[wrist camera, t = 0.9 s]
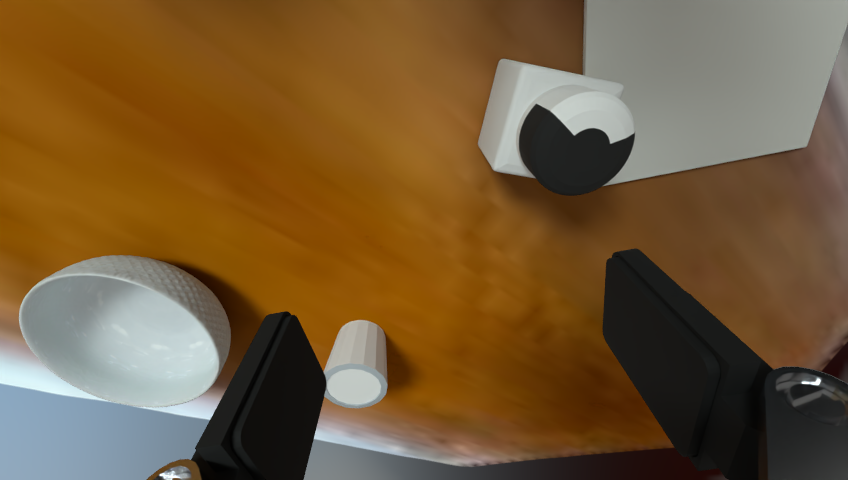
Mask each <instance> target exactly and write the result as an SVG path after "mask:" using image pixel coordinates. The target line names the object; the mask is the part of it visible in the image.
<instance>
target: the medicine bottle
mask: <svg viewBox="0 0 848 480" xmlns="http://www.w3.org/2000/svg"><path fill="white" fill-rule="evenodd" d="M623 92H624V86H623V85H622V84H621V83H616V82H612V81H607V80H603V79H598V78H594V77H589V76H584V75H580V74H575V73H570V72H566V71H561V70H556V69H551V68H546V67H542V66H537V65H532V64H527V63H522V62H518V61H513V60H508V59H501V60H500V61H499V63H498V66H497V70H496V74H495V78H494V82H493V86H492V90H491V94H490V98H489V101H488V105H487V109H486V113H485V117H484V121H483V125H482V129H481V133H480V137H479V141H478V146H479V148H480V149H481V151H482V153H483V154H484V156H485V157H486V159H487V161H488V162H489V164H490V165H491V167H492V169H493V170H494V171H496V172H501V173H507V174H513V175H519V176H525V177H531V178H536V179H537V180H538V181H539V182H540V183H541V184H542V185H543V186H544V187H545V188H547V189H548V190H550V191H552V192H554V193H557V194H561V195H568V196H574V195H582V194H585V193H589V192H591V191H594V190H596V189H598V188H600V187H602V186H603V185H605V184H606V183H608V182H609V181H610V180H611V179H613V178H614V177H615V176H616V175H617V174H618V173H619V171H620V170H621V169H622V168H623V166H624V165H625V163H626V162H627V160H628V158H629V156H630V154H631V151H632V148H633V145H634V140H635V124H634V120H633V117H632V114H631V112H630V110H629V109H628V107H627V106H626V105H625V104H624V103H623V102H622V101H621V100H620V99H621V96H622V94H623Z"/></svg>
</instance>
